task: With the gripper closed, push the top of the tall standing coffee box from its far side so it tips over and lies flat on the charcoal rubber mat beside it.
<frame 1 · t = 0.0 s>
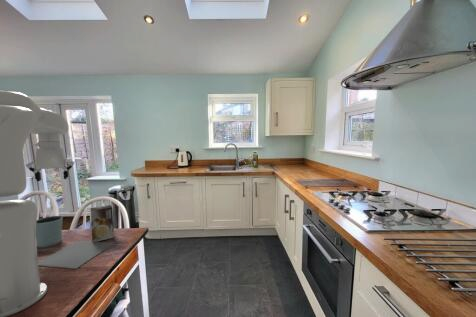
hand: (52, 179, 94), 31 cm above the table, tool pointing down, fingers open, 9 cm apart
coffee box: (102, 238, 97), on the table, touching mat
teal planter pot: (50, 243, 94), on the table
mat: (77, 253, 84), on the table
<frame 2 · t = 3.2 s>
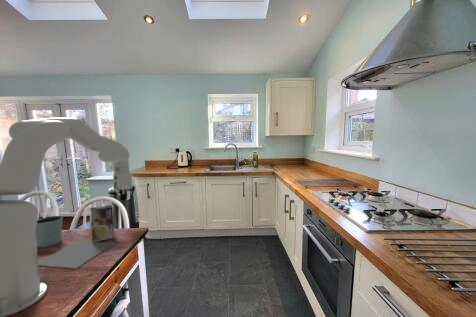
hand: (123, 199, 112), 16 cm above the table, tool pointing down, fingers closed
nothing on the table moved.
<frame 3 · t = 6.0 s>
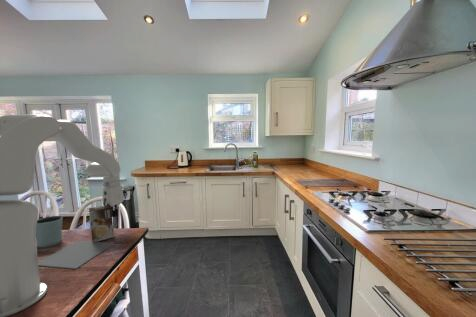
hand: (114, 216, 105), 9 cm above the table, tool pointing down, fingers closed
coffee box: (102, 238, 97), on the table, touching gripper, mat
everything else where it was.
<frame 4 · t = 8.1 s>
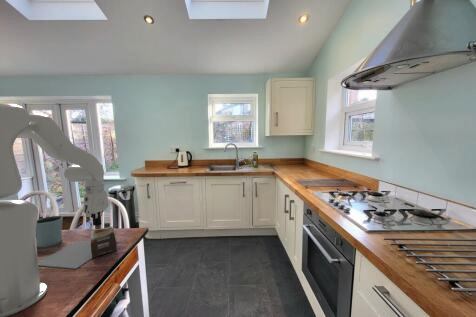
hand: (97, 224, 94), 9 cm above the table, tool pointing down, fingers closed
coffee box: (102, 234, 95), point 4 cm above the table, touching mat
everything else where it was.
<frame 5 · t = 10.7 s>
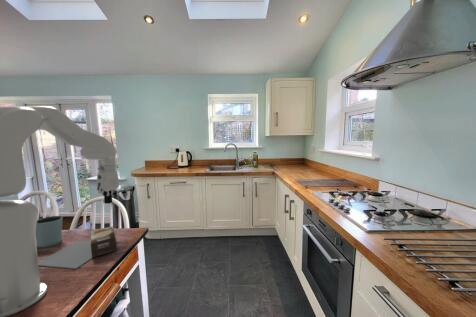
hand: (108, 202, 101), 17 cm above the table, tool pointing down, fingers closed
nothing on the table moved.
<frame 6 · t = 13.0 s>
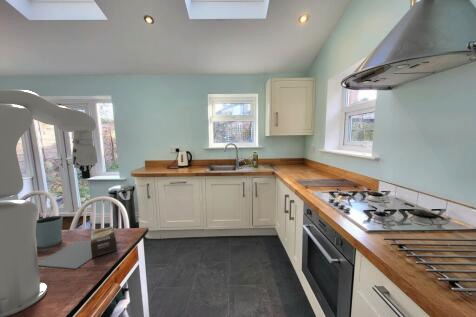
hand: (86, 178, 98), 31 cm above the table, tool pointing down, fingers closed
nothing on the table moved.
at the end: coffee box tilted 90°; coffee box inside the target area (4.4 cm from its centre), point 3.6 cm above the table; coffee box touching mat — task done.
